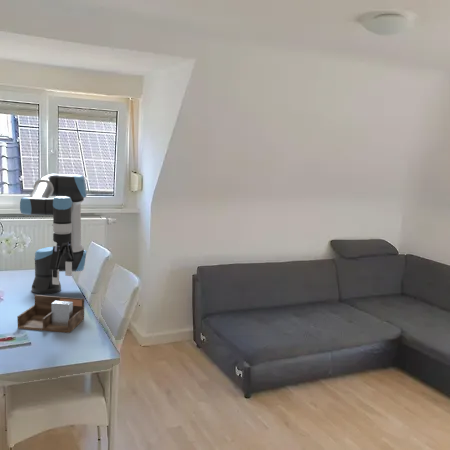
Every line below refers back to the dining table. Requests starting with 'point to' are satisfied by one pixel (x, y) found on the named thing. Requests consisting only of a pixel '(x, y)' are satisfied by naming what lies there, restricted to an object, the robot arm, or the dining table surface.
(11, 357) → the dining table surface
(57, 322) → the block
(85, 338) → the dining table surface
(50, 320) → the rack
